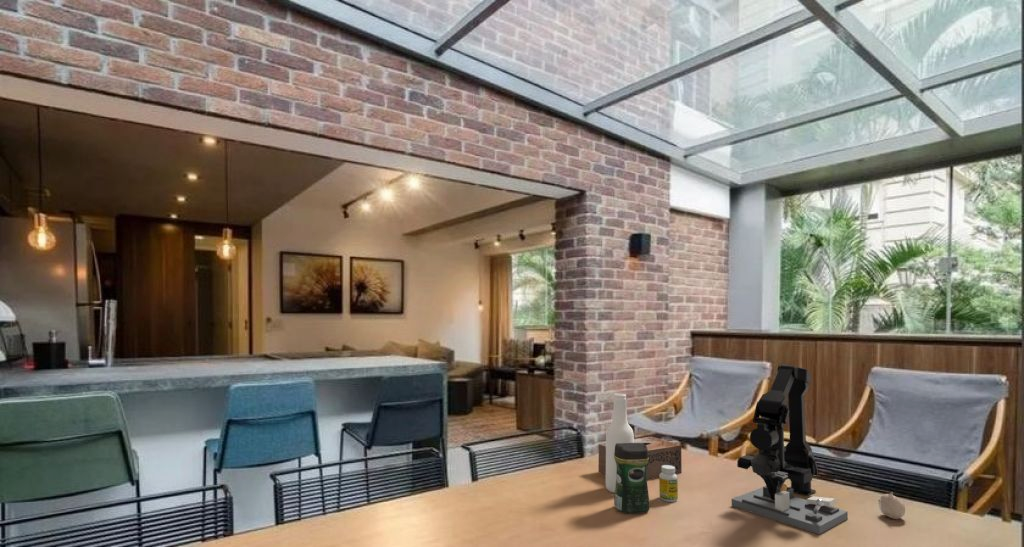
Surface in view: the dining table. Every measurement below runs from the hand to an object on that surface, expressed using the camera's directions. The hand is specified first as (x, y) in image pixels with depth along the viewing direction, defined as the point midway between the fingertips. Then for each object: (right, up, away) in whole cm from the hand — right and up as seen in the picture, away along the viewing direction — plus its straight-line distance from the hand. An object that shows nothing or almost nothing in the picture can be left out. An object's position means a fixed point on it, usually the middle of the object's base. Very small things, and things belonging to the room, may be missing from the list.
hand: (773, 499), depth 146 cm
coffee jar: (-40, -4, +1) cm, 40 cm away
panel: (+5, -4, +1) cm, 7 cm away
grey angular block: (+1, -2, -2) cm, 3 cm away
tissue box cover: (-29, -7, +36) cm, 47 cm away
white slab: (+13, -1, -1) cm, 13 cm away
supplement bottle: (-27, -5, +10) cm, 29 cm away
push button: (+6, -2, +9) cm, 11 cm away
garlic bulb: (+33, -5, -1) cm, 33 cm away
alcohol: (-40, -5, +18) cm, 44 cm away
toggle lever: (+6, 0, -8) cm, 11 cm away
